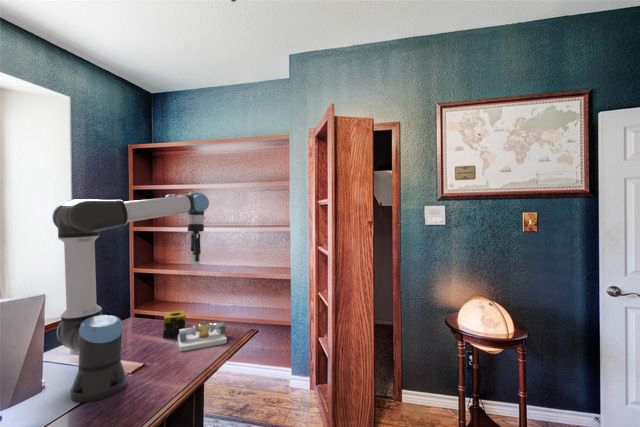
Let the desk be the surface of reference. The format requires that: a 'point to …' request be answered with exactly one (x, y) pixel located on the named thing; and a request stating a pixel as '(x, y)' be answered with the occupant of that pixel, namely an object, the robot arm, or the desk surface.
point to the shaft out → (217, 327)
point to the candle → (173, 323)
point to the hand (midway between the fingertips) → (194, 266)
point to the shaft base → (198, 339)
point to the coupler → (203, 329)
